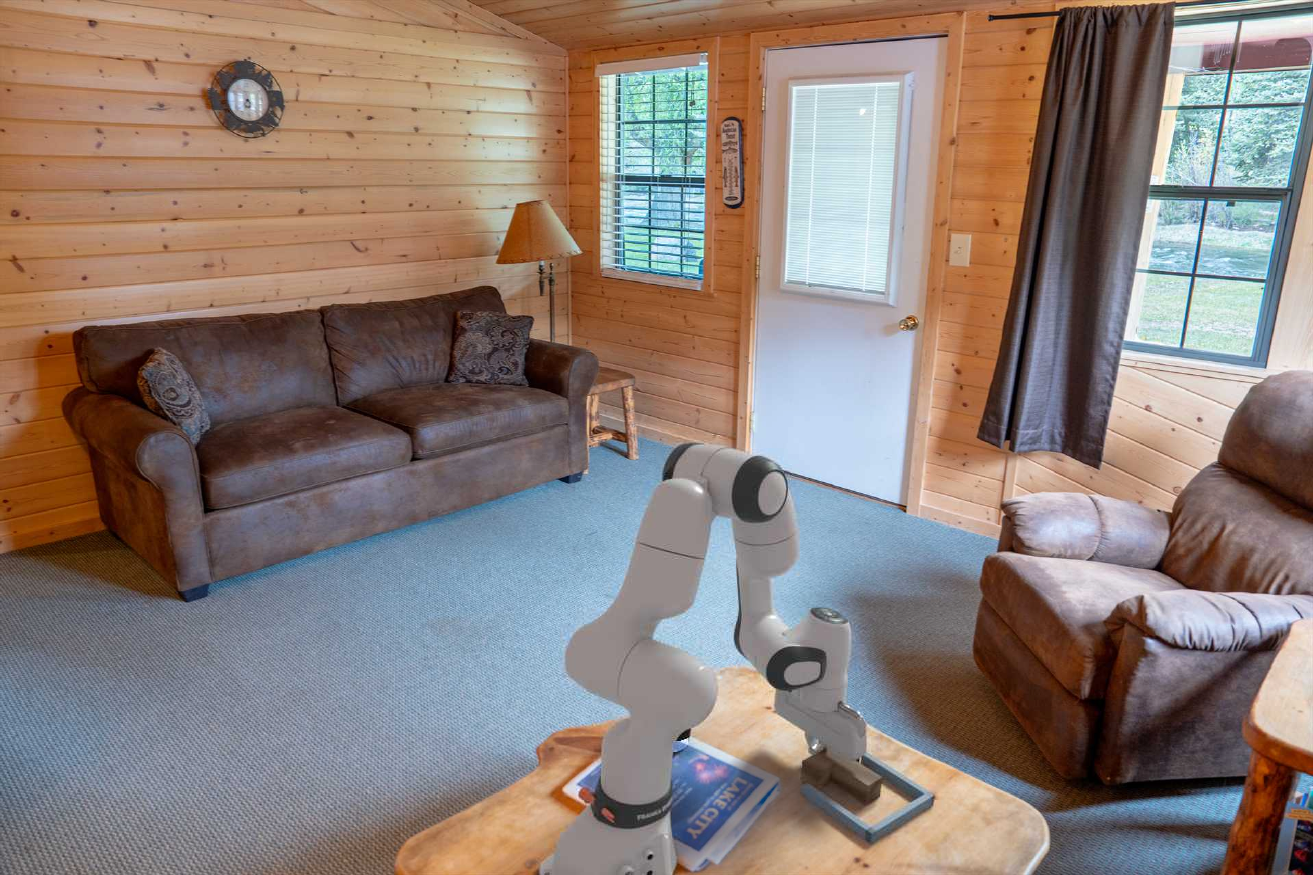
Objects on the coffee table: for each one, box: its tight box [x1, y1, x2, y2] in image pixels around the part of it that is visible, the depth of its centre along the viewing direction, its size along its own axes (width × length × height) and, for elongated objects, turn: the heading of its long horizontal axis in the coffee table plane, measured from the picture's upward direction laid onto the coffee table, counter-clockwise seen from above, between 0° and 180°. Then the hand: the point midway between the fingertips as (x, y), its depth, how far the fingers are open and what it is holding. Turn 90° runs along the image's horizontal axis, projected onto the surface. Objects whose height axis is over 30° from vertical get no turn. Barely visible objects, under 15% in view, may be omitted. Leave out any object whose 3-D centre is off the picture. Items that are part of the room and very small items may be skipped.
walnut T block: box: [800, 747, 883, 806], centre depth 170 cm, size 12×12×4 cm
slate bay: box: [801, 751, 936, 845], centre depth 166 cm, size 17×16×2 cm
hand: (816, 755), depth 175 cm, fingers closed
